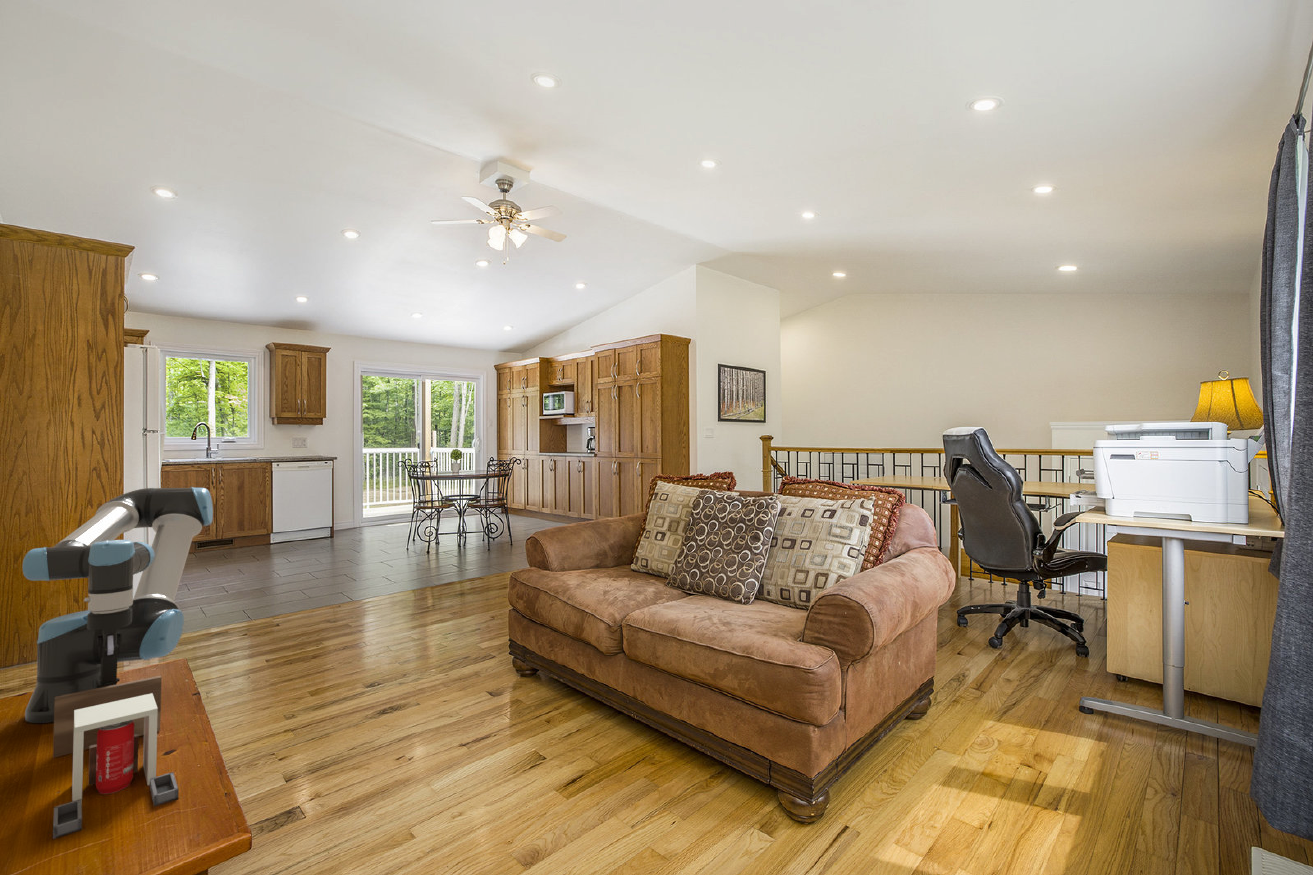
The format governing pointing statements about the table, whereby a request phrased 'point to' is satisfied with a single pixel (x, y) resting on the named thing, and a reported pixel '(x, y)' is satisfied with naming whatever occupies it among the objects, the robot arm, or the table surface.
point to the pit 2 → (163, 789)
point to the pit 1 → (67, 818)
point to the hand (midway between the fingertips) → (107, 714)
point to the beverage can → (114, 757)
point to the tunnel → (113, 715)
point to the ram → (92, 698)
